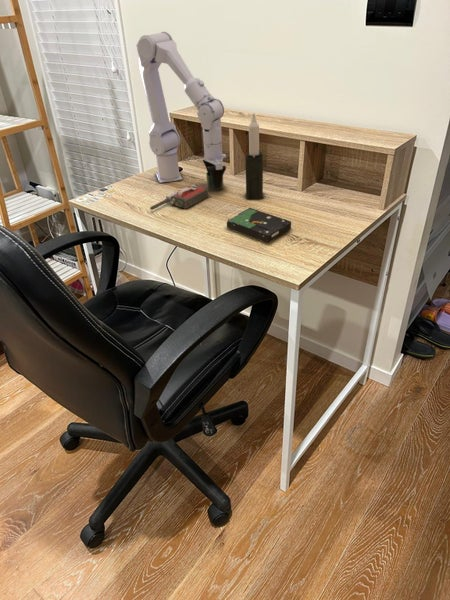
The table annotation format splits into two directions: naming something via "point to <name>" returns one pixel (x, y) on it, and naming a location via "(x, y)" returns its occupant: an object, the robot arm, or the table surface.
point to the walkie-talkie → (185, 197)
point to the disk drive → (259, 225)
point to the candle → (254, 163)
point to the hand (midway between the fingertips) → (215, 184)
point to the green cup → (210, 183)
